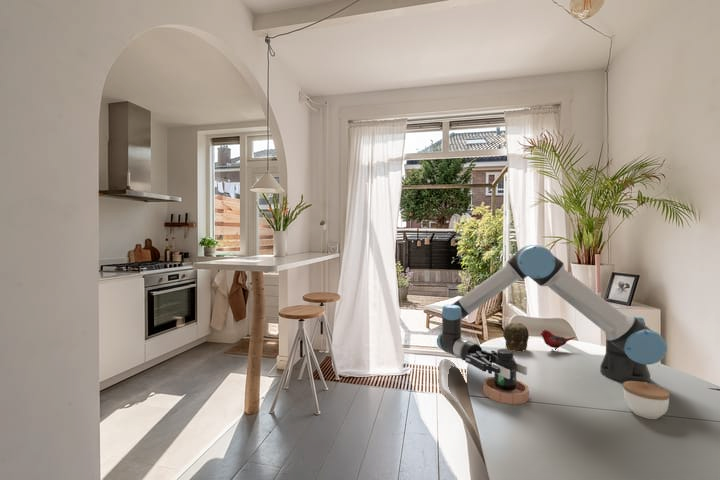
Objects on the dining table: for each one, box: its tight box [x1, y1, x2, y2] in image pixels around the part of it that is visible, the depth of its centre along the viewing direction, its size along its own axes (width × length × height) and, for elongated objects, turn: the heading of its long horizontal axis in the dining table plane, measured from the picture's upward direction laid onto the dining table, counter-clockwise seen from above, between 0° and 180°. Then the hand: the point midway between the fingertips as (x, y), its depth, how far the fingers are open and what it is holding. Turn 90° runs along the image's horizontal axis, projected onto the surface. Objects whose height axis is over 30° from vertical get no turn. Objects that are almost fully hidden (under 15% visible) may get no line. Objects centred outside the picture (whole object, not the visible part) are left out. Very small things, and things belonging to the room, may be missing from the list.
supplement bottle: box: [493, 348, 517, 391], centre depth 115 cm, size 7×7×12 cm
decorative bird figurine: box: [540, 329, 576, 350], centre depth 160 cm, size 3×18×10 cm, turn 96°
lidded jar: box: [622, 381, 671, 420], centre depth 102 cm, size 11×11×9 cm
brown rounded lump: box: [502, 322, 530, 352], centre depth 163 cm, size 11×11×12 cm
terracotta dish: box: [482, 376, 530, 405], centre depth 115 cm, size 14×14×3 cm
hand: (517, 372), depth 110 cm, fingers closed on supplement bottle, 7 cm apart
